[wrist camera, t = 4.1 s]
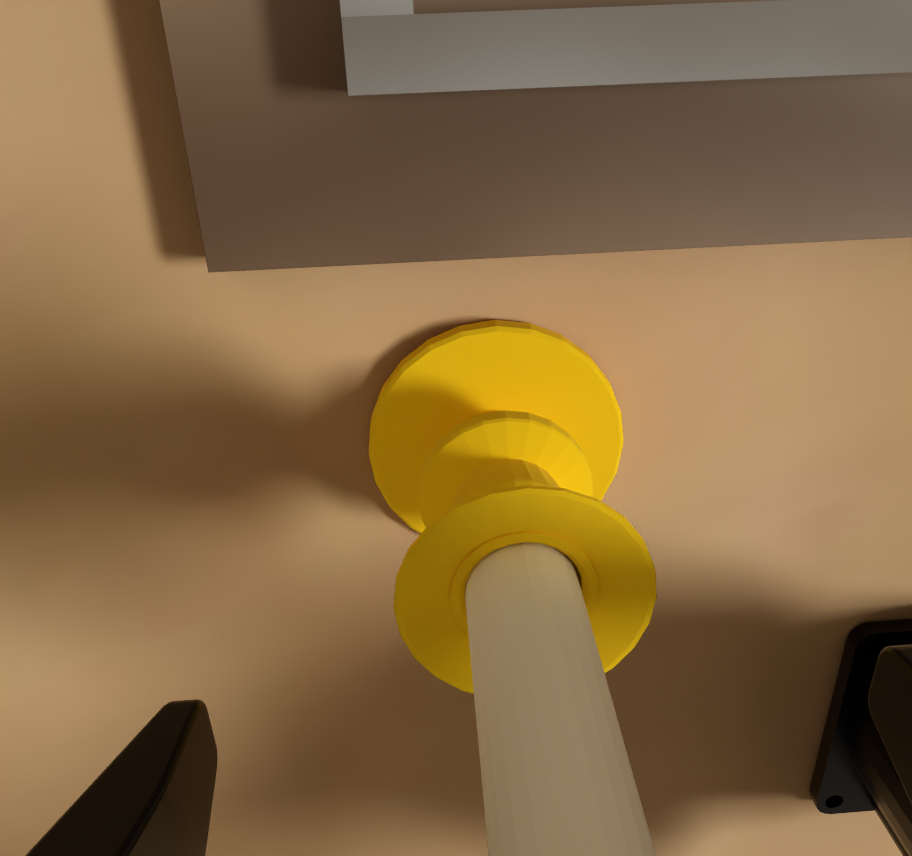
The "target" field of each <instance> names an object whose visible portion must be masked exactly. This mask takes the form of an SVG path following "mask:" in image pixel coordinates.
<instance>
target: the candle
mask: <svg viewBox="0 0 912 856" xmlns="http://www.w3.org/2000/svg"><path fill="white" fill-rule="evenodd" d="M622 447H623V430H622V415H621V411H620V408H619V406H618V403H617V401H616V398H615V395H614V393H613V390H612V388H611V385H610V383H609V381H608V380H607V378H606V377H605V375H604V374H603V373H602V371H601V370H600V369H599V368H598V366H597V365H596V364H595V363H594V361H593V360H592V359H591V357H590V356H589V355H588V354H587V353H586V352H585V351H583V350H582V349H581V348H579V347H578V346H576V345H575V344H574V343H572V342H571V341H569V340H568V339H567V338H565V337H564V336H562V335H561V334H558V333H556V332H553V331H550V330H547V329H545V328H542V327H539V326H536V325H534V324H531V323H525V322H514V321H503V320H490V321H484V322H478V323H472V324H466V325H460V326H458V327H455V328H453V329H451V330H448V331H446V332H444V333H441V334H439V335H437V336H435V337H432V338H430V339H428V340H427V341H425V342H424V343H423V344H422V345H420V346H419V347H418V348H416V349H415V350H414V351H413V352H411V353H410V354H409V355H408V356H406V357H405V358H404V359H403V360H401V362H400V363H399V364H398V366H397V367H396V368H395V370H394V371H393V373H392V374H391V375H390V377H389V378H388V379H387V381H386V382H385V383H384V385H383V386H382V389H381V391H380V394H379V397H378V399H377V402H376V405H375V407H374V410H373V413H372V416H371V423H370V438H369V457H370V462H371V466H372V470H373V474H374V479H375V482H376V484H377V486H378V488H379V489H380V491H381V493H382V495H383V496H384V498H385V500H386V502H387V503H388V505H389V507H390V508H391V509H392V510H393V511H394V512H395V513H396V514H397V515H398V516H399V517H400V518H401V519H402V520H403V521H404V522H405V523H406V524H407V525H408V526H409V527H410V528H412V529H413V530H415V531H417V532H419V533H420V536H419V537H418V538H417V539H416V540H415V542H414V543H413V544H412V545H411V546H410V548H409V549H408V551H407V553H406V555H405V558H404V560H403V562H402V565H401V567H400V569H399V572H398V574H397V576H396V585H395V596H394V612H395V616H396V620H397V624H398V628H399V632H400V635H401V637H402V639H403V640H404V642H405V643H406V645H407V647H408V648H409V650H410V652H411V653H412V655H413V656H414V658H415V659H416V660H417V661H418V662H419V663H421V664H422V665H423V666H424V667H425V668H426V669H427V670H428V671H430V672H431V673H432V674H433V675H434V676H435V677H437V678H439V679H440V680H442V681H444V682H446V683H448V684H450V685H452V686H454V687H456V688H458V689H460V690H462V691H465V692H469V693H473V694H474V700H475V711H476V723H477V734H478V745H479V756H480V767H481V778H482V789H483V800H484V811H485V822H486V833H487V844H488V855H489V856H656V854H655V850H654V847H653V843H652V839H651V836H650V832H649V829H648V825H647V822H646V818H645V815H644V811H643V808H642V804H641V800H640V797H639V793H638V790H637V786H636V783H635V779H634V776H633V772H632V769H631V765H630V761H629V758H628V754H627V751H626V747H625V744H624V740H623V737H622V733H621V730H620V726H619V722H618V719H617V715H616V712H615V708H614V705H613V701H612V698H611V694H610V691H609V687H608V684H607V680H606V676H605V673H606V672H608V671H609V670H611V669H612V668H614V667H615V666H616V665H617V664H618V663H619V662H620V661H621V660H622V659H623V658H624V657H625V656H626V655H627V654H628V653H629V652H630V651H631V650H632V649H633V648H634V647H635V645H636V644H637V642H638V641H639V639H640V637H641V636H642V634H643V633H644V631H645V629H646V628H647V626H648V624H649V622H650V619H651V615H652V611H653V608H654V604H655V600H656V597H657V593H656V573H655V567H654V564H653V562H652V559H651V557H650V554H649V552H648V549H647V547H646V544H645V542H644V539H643V538H642V537H641V536H640V535H639V533H638V532H637V531H636V530H635V529H634V528H633V526H632V525H631V524H630V523H629V522H628V520H627V519H626V518H625V517H624V516H623V515H621V514H620V513H618V512H617V511H615V510H614V509H612V508H610V507H609V506H607V505H606V504H604V503H603V502H601V500H602V498H603V497H604V495H605V493H606V491H607V489H608V487H609V486H610V484H611V482H612V480H613V478H614V476H615V474H616V473H617V469H618V465H619V460H620V456H621V451H622Z"/></svg>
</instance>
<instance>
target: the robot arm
mask: <svg viewBox="0 0 912 856" xmlns="http://www.w3.org/2000/svg"><path fill="white" fill-rule="evenodd" d="M871 642H872V643H871ZM870 643H871V644H870ZM216 771H217V747H216V743H215V739H214V735H213V731H212V727H211V723H210V719H209V715H208V711H207V707H206V705H205V704H204V702H203V701H201V700H184V701H172V702H169V703H168V704H166V705H165V706H163V707H162V708H161V709H160V711H159V712H158V713H157V714H156V715H155V716H154V717H153V718H152V719H151V720H150V721H149V722H148V724H147V725H146V726H145V727H144V728H143V729H142V730H141V731H140V732H139V733H138V734H137V735H136V737H135V738H134V739H133V740H132V741H131V742H130V743H129V744H128V745H127V746H126V747H125V748H124V750H123V751H122V752H121V753H120V754H119V755H118V756H117V757H116V758H115V759H114V760H113V761H112V763H111V764H110V765H109V766H108V767H107V768H106V769H105V770H104V771H103V772H102V773H101V774H100V776H99V777H98V778H97V779H96V780H95V781H94V782H93V783H92V784H91V785H90V786H89V787H88V789H87V790H86V791H85V792H84V793H83V794H82V795H81V796H80V797H79V798H78V799H77V800H76V802H75V803H74V804H73V805H72V806H71V807H70V808H69V809H68V810H67V811H66V812H65V813H64V815H63V816H62V817H61V818H60V819H59V820H58V821H57V822H56V823H55V824H54V825H53V826H52V828H51V829H50V830H49V831H48V832H47V833H46V834H45V835H44V836H43V837H42V838H41V839H40V841H39V842H38V843H37V844H36V845H35V846H34V847H33V848H32V849H31V850H30V851H29V852H28V853H27V855H26V856H205V853H206V845H207V838H208V830H209V823H210V816H211V808H212V801H213V793H214V786H215V778H216ZM810 796H811V798H812V800H813V802H814V803H815V805H816V807H817V809H818V810H819V811H820V812H822V813H826V814H835V813H847V812H860V811H873V810H875V811H876V813H877V814H878V816H879V818H880V819H881V821H882V822H883V824H884V826H885V827H886V829H887V830H888V832H889V834H890V835H891V837H892V839H893V840H894V842H895V843H896V845H897V847H898V848H899V850H900V851H901V853H902V855H903V856H912V619H906V620H892V621H878V622H868V623H864V624H861V625H859V626H857V627H856V628H854V629H853V630H852V631H851V632H850V634H849V636H848V638H847V640H846V644H845V649H844V653H843V657H842V661H841V665H840V669H839V673H838V677H837V681H836V685H835V689H834V693H833V698H832V702H831V706H830V710H829V714H828V718H827V722H826V726H825V730H824V734H823V738H822V743H821V747H820V751H819V755H818V759H817V763H816V767H815V771H814V775H813V779H812V783H811V788H810Z"/></svg>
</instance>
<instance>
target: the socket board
mask: <svg viewBox="0 0 912 856" xmlns="http://www.w3.org/2000/svg"><path fill="white" fill-rule="evenodd" d="M159 2H160V8H161V13H162V19H163V24H164V30H165V35H166V41H167V46H168V52H169V57H170V63H171V68H172V74H173V79H174V85H175V91H176V96H177V102H178V107H179V113H180V118H181V124H182V129H183V135H184V140H185V146H186V151H187V157H188V162H189V168H190V174H191V179H192V185H193V190H194V196H195V201H196V207H197V212H198V218H199V223H200V229H201V234H202V240H203V245H204V251H205V256H206V262H207V268H208V272H225V271H245V270H265V269H285V268H305V267H325V266H345V265H365V264H385V263H405V262H425V261H444V260H464V259H484V258H504V257H524V256H544V255H564V254H584V253H604V252H624V251H644V250H664V249H683V248H703V247H723V246H743V245H763V244H783V243H803V242H823V241H843V240H863V239H883V238H902V237H912V0H159Z"/></svg>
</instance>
